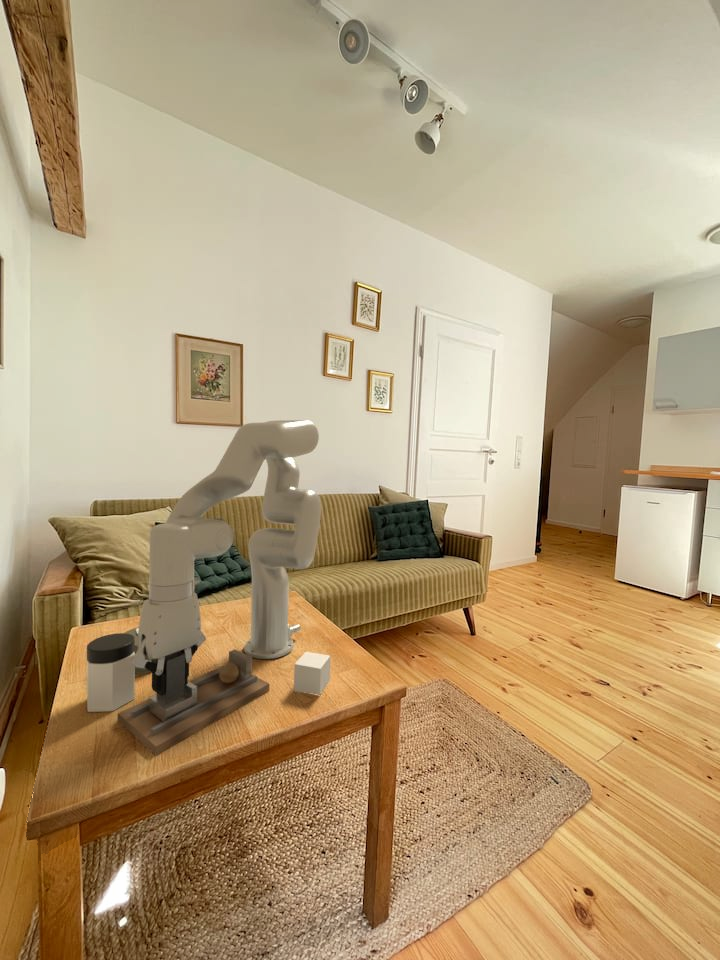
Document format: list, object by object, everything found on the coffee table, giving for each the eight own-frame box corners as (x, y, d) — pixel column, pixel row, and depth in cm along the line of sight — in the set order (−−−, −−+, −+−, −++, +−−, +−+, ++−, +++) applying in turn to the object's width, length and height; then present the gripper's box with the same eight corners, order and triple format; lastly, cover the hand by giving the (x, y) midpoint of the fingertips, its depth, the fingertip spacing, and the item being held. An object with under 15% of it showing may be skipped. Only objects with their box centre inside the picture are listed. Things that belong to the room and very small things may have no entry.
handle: (179, 695, 78) (180, 643, 78) (196, 707, 74) (197, 652, 74) (148, 710, 73) (149, 654, 73) (165, 723, 69) (166, 665, 69)
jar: (143, 688, 83) (144, 632, 83) (124, 711, 75) (124, 650, 75) (98, 689, 82) (99, 633, 82) (74, 713, 74) (74, 651, 74)
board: (229, 669, 92) (229, 641, 92) (269, 690, 84) (269, 660, 83) (117, 721, 72) (118, 686, 72) (155, 755, 64) (156, 716, 64)
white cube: (320, 696, 82) (320, 668, 82) (293, 691, 84) (294, 664, 83) (329, 681, 88) (330, 655, 88) (305, 677, 89) (305, 651, 89)
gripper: (201, 577, 81) (200, 664, 82) (114, 597, 68) (113, 700, 69) (223, 584, 77) (221, 675, 78) (134, 607, 64) (133, 717, 64)
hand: (170, 686), depth 73 cm, fingers closed on handle, 3 cm apart
